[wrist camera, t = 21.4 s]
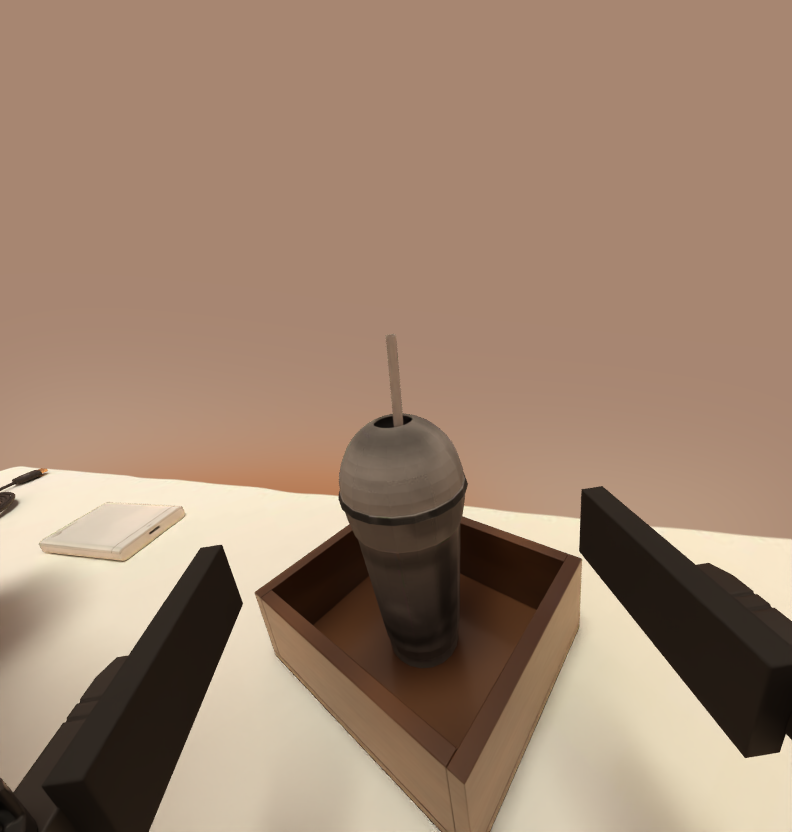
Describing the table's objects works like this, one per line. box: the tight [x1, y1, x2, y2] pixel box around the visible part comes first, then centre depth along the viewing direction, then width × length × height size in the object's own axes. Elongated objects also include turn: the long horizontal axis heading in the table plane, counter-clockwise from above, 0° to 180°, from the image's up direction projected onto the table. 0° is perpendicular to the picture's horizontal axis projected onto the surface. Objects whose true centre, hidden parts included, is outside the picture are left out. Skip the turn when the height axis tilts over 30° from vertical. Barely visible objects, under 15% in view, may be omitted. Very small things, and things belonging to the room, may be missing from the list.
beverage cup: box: [339, 334, 468, 668], centre depth 21 cm, size 7×7×20 cm
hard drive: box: [39, 502, 185, 561], centre depth 43 cm, size 2×8×12 cm
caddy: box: [255, 516, 582, 832], centre depth 24 cm, size 16×14×6 cm
